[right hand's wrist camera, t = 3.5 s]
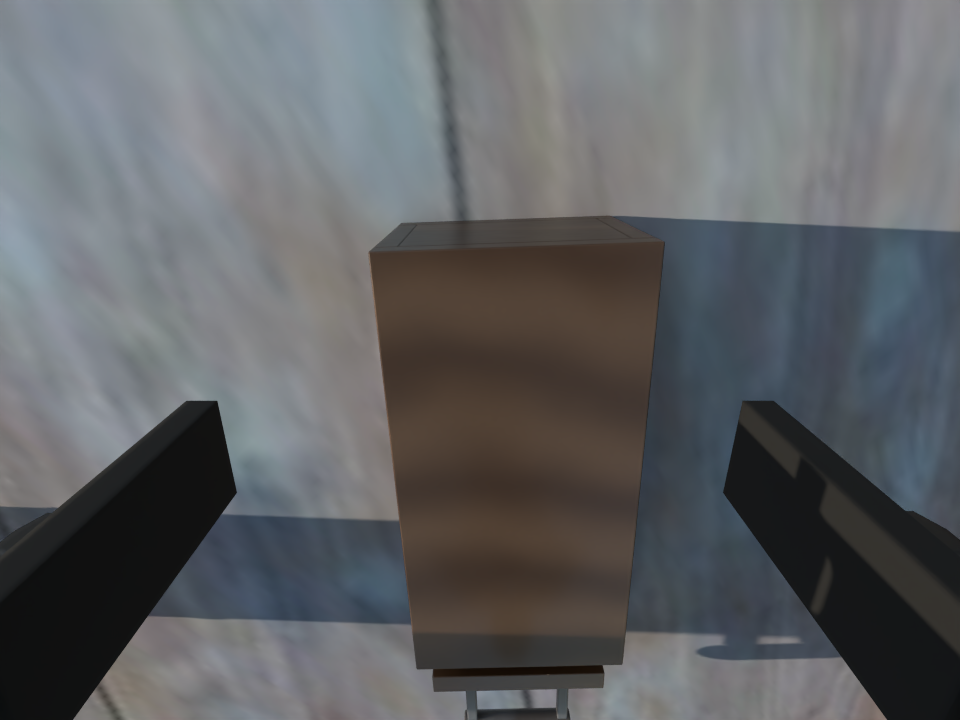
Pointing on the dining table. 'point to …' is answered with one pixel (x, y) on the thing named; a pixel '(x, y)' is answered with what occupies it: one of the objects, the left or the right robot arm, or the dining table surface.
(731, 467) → the right robot arm
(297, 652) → the dining table surface
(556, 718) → the drawer
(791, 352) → the dining table surface
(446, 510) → the cabinet
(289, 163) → the dining table surface
